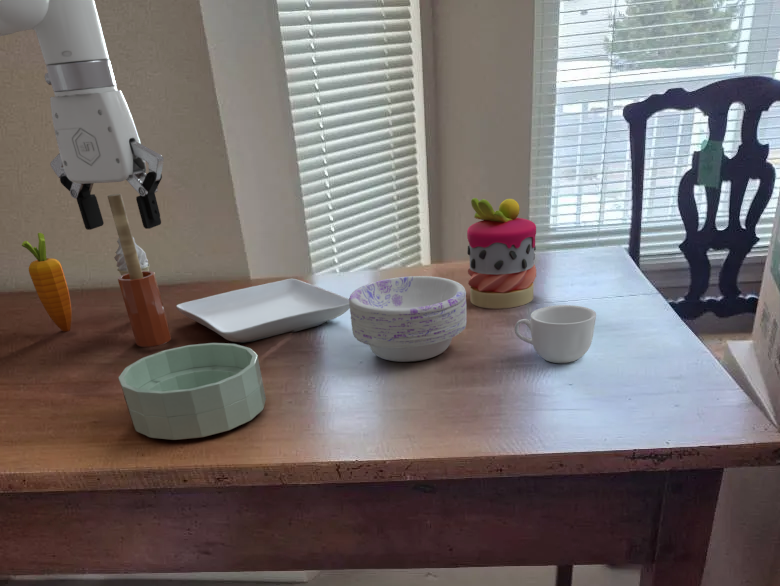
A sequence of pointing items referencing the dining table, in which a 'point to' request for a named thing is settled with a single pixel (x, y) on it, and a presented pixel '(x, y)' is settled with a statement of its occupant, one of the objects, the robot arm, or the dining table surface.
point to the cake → (501, 256)
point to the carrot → (50, 285)
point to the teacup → (560, 332)
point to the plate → (266, 310)
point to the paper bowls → (408, 316)
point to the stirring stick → (125, 236)
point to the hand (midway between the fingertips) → (123, 227)
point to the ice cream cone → (122, 263)
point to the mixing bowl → (193, 390)
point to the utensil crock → (145, 309)
